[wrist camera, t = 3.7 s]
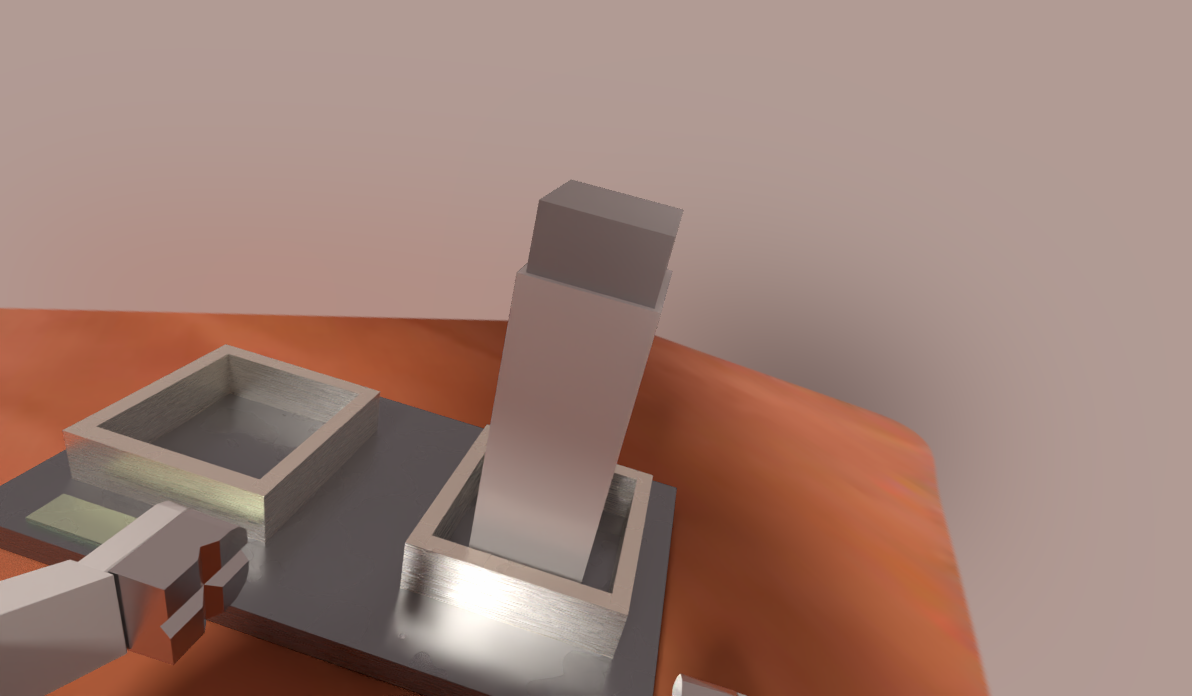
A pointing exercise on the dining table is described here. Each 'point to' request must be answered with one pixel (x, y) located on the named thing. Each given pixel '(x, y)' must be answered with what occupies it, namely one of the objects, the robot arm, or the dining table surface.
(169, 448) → the panel
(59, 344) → the dining table surface
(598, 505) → the plug
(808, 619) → the dining table surface
